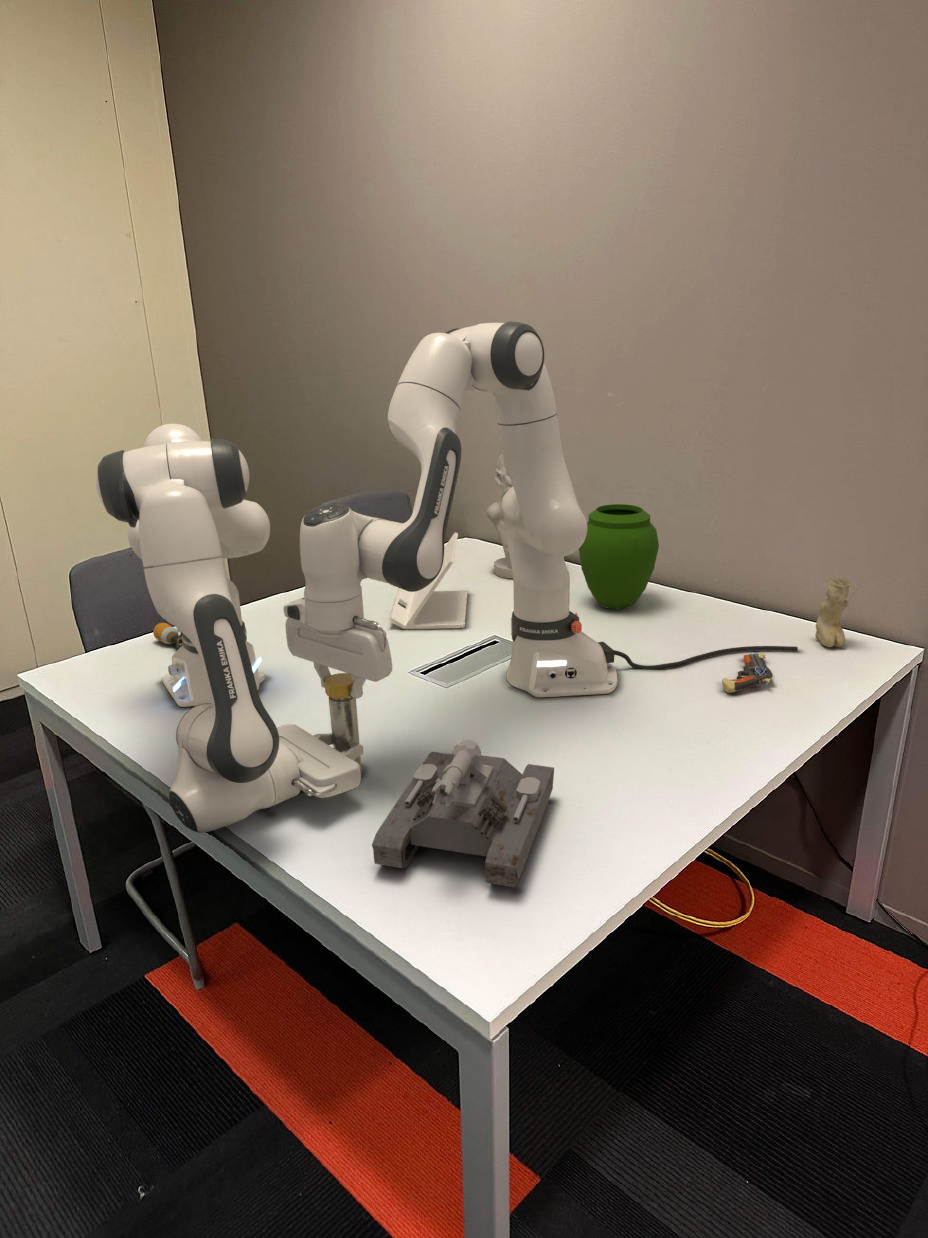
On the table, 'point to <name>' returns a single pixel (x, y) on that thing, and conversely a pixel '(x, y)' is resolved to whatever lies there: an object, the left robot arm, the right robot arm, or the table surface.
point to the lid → (338, 685)
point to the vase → (618, 554)
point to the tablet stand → (432, 602)
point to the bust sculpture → (501, 520)
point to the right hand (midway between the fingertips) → (341, 691)
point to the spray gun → (167, 634)
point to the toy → (468, 812)
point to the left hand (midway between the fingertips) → (350, 742)
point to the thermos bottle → (344, 724)
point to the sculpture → (832, 613)
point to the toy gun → (749, 674)
